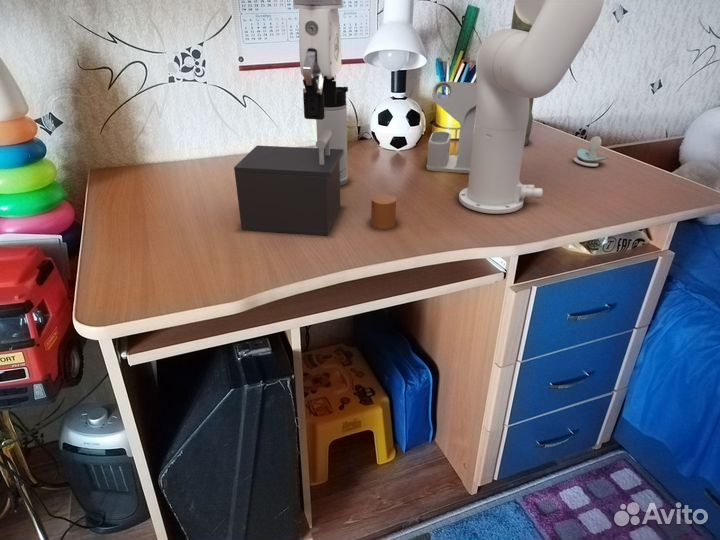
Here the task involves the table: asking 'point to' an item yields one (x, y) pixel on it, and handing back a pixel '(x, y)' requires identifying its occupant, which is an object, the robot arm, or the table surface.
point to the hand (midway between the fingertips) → (321, 111)
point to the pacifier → (590, 153)
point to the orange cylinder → (383, 211)
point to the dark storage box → (288, 202)
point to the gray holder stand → (464, 112)
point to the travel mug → (337, 128)
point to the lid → (293, 159)
